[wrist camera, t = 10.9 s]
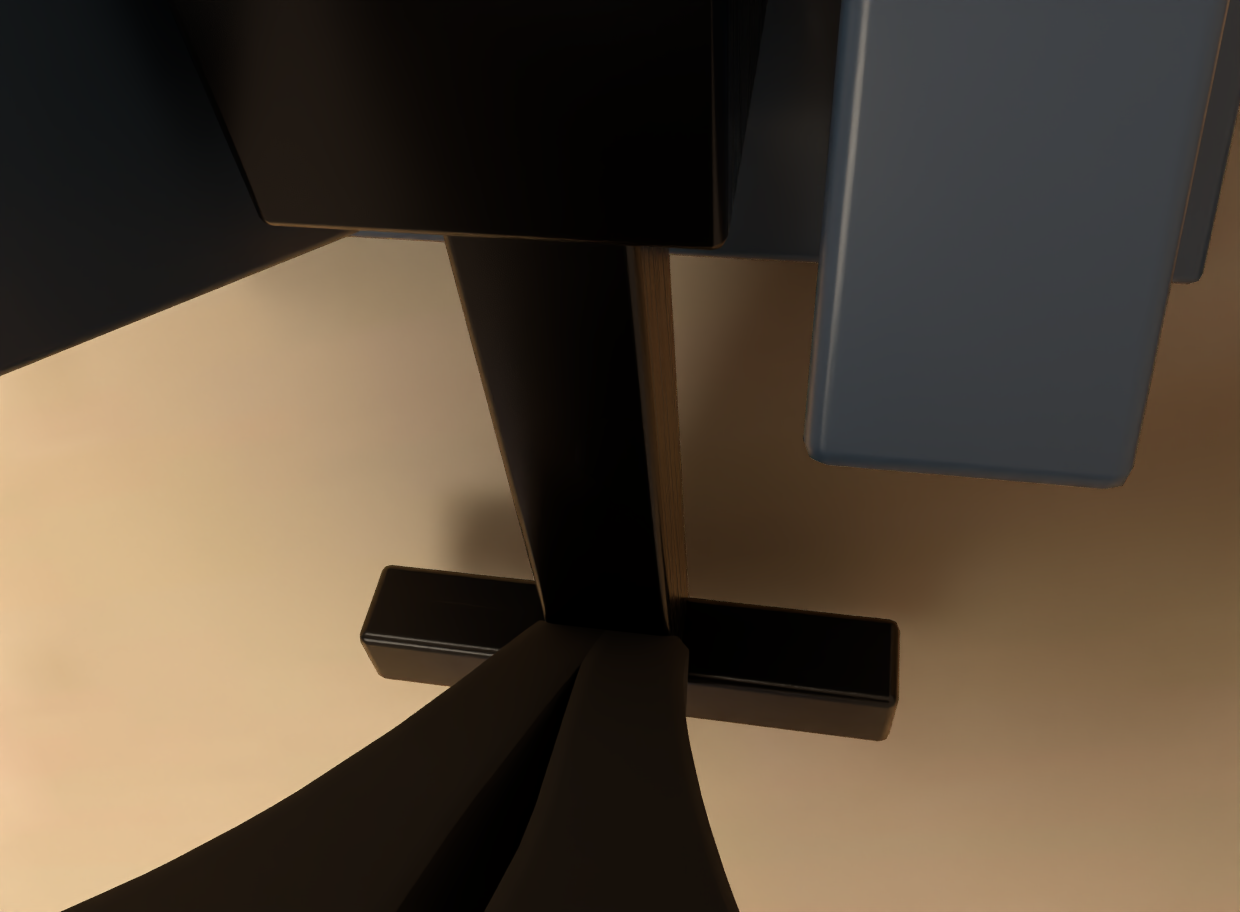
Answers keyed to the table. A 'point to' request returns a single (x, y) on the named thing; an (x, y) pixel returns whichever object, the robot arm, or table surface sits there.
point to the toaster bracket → (746, 207)
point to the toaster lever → (545, 298)
